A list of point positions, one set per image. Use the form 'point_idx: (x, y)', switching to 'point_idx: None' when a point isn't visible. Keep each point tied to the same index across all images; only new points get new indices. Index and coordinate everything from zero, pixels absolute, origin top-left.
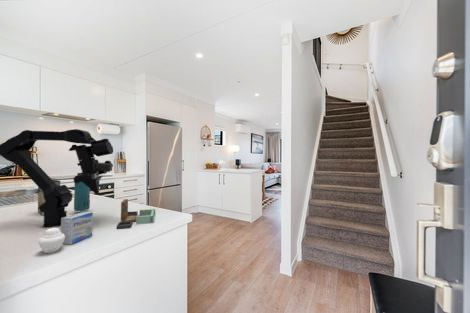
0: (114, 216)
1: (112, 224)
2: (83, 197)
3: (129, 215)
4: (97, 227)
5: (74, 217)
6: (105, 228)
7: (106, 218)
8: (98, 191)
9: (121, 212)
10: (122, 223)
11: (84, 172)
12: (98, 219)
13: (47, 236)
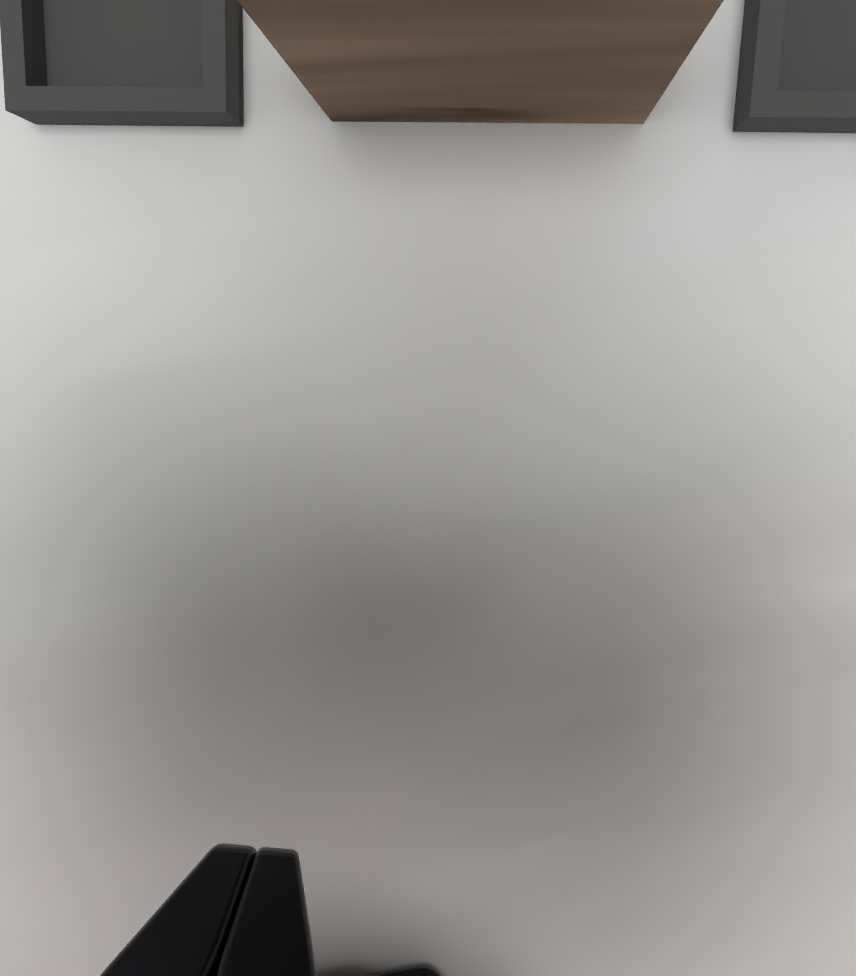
0: (132, 331)
1: (646, 265)
2: None
3: (230, 14)
4: (735, 476)
5: None
6: (844, 336)
7: (233, 445)
8: (246, 903)
9: (695, 34)
10: (772, 58)
11: None
12: (263, 563)
13: None
